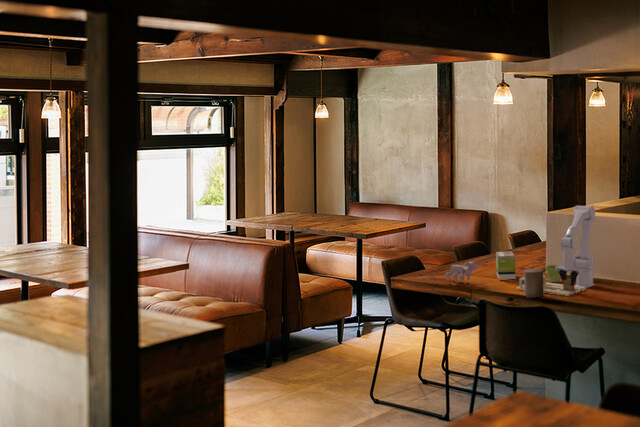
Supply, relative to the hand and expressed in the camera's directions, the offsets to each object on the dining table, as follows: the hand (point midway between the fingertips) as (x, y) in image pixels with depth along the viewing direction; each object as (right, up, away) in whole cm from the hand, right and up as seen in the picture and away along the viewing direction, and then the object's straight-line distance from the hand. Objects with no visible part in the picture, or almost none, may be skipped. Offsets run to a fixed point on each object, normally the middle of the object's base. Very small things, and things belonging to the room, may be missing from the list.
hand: (568, 284), depth 422 cm
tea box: (-23, 0, +46) cm, 51 cm away
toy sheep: (-49, -3, +33) cm, 59 cm away
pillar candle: (-19, -6, -4) cm, 21 cm away
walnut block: (0, -2, 0) cm, 2 cm away
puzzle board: (-7, -4, +9) cm, 12 cm away
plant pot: (+1, -1, +30) cm, 30 cm away
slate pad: (0, -3, 0) cm, 3 cm away
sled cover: (-15, -2, +14) cm, 21 cm away
